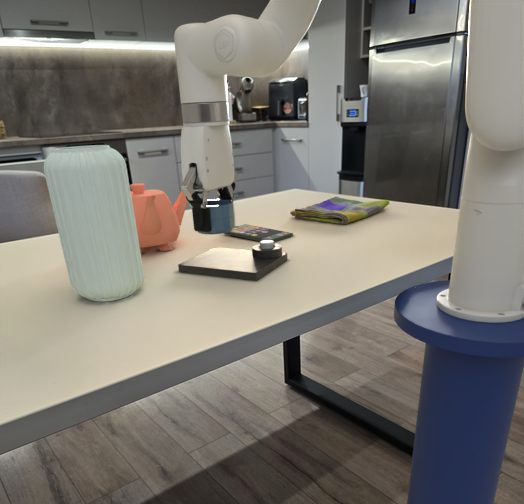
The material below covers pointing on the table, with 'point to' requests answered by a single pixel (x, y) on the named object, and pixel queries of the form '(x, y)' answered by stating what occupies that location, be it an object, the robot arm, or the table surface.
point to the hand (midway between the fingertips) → (215, 225)
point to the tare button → (266, 244)
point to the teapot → (156, 216)
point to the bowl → (221, 216)
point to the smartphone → (258, 233)
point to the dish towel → (340, 210)
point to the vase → (95, 220)
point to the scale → (235, 262)
